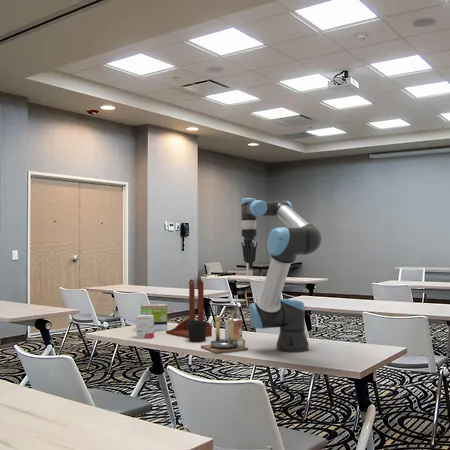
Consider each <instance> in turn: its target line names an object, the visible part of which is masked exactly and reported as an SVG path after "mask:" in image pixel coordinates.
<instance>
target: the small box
mask: <svg viewBox="0 0 450 450" xmlns="http://www.w3.org/2000/svg"><path fill="white" fill-rule="evenodd" d="M232 319H233V320H234V321H233V339H236V341H238V340H239V338H241V337H242V338H243V319H241V318H232ZM224 339H228V340H229V329H228V319H225V320H224Z"/></svg>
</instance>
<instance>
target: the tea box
mask: <svg viewBox="0 0 450 450" xmlns="http://www.w3.org/2000/svg"><path fill="white" fill-rule="evenodd" d="M140 315H154V332H155V331H157V332H159V331H161V332H162V331H163V332H166V331H168V304H166V303H141V304H140Z"/></svg>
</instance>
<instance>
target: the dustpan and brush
mask: <svg viewBox="0 0 450 450" xmlns="http://www.w3.org/2000/svg"><path fill="white" fill-rule="evenodd" d="M188 289H189V291H188V294H189V295H188V296H189V297H188V298H189V303H188V304H189V305H188V306H189V307H188V308H189V310H188V313H189V314H188V315H189V317H188V318H185V321H181V322H179V323H178V324H177V325H176V326H175V327H173V329H172V328H171V329H167V331H165V334H166V335H171V336H176V337H180V338H181V337H182V338H186V339H189V333H188V321H191V320H196V318H195V317H196V315H195V311H196V310H195V309H196V308H195V304H196V303H195V299H196V298H195V280H194V279H190V280H189V282H188ZM204 298H205V297H204V281H203V280H201V279H200V280H198V281H197V312H198V313H197V320H199V321H201V322H204V321H205V318H204V317H205V315H204V313H205V311H204V305H205V304H204ZM212 331H213V327H212V326H211V323H210V322H209V321H206V338H209V337H210V338H211V337H213V332H212Z"/></svg>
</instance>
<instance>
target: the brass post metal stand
mask: <svg viewBox="0 0 450 450" xmlns="http://www.w3.org/2000/svg"><path fill="white" fill-rule="evenodd" d="M233 319H234V318H232V317H229V318H227V320H228V329H229V340H228V339H225V338H220V336H221V332H220V331H221V330H220V329H221V328H220V327H221V326H220V325H221V323H220V320H221V316H220V315H215V316H214V321H215V340H212V341H211V340H210V345H211V347H213V348H234V347H237V346H238V341H236V339H233V321H234V320H233Z"/></svg>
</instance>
